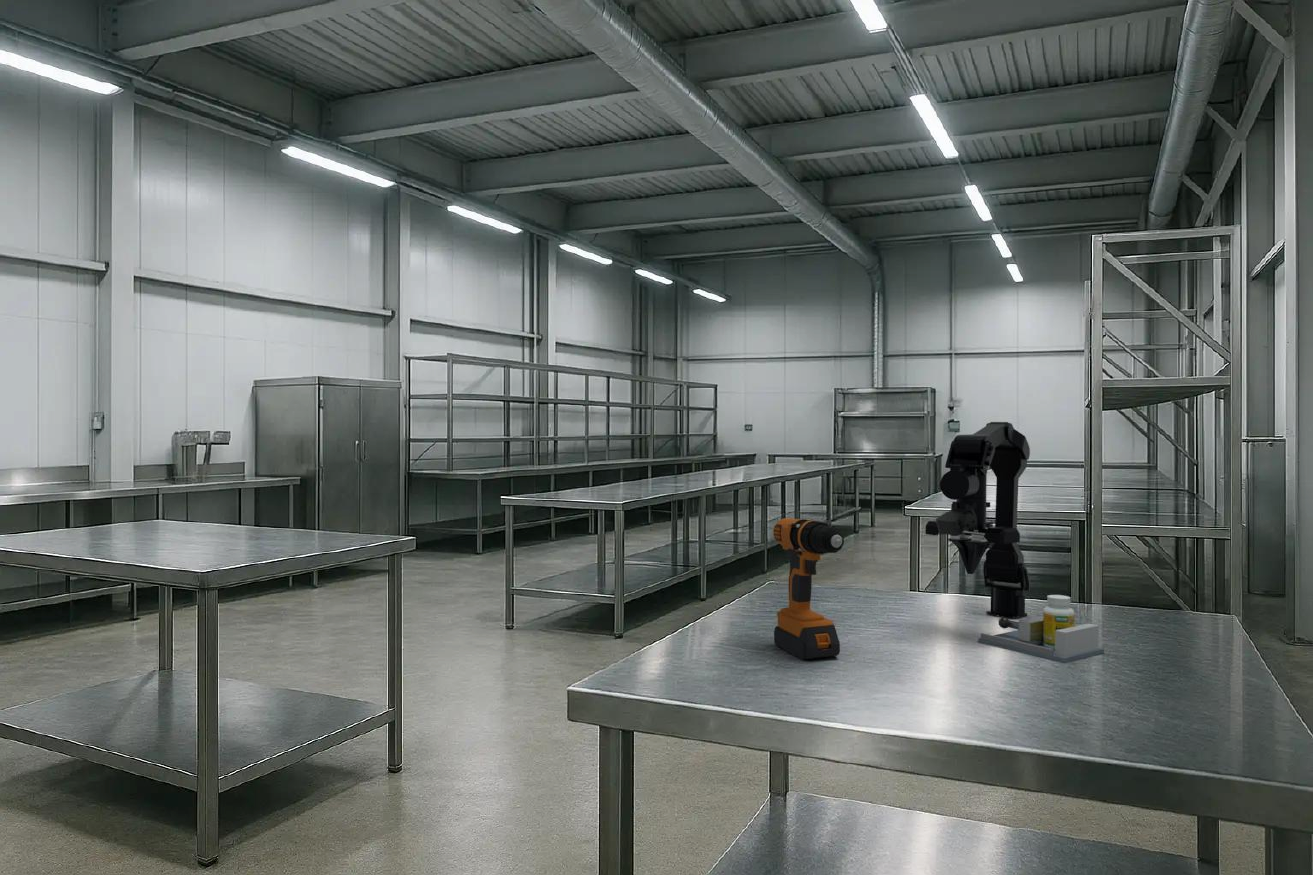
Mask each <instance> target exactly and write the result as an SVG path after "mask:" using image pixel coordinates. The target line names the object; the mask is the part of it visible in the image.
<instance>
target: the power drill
mask: <svg viewBox="0 0 1313 875" xmlns="http://www.w3.org/2000/svg"><path fill="white" fill-rule="evenodd" d="M772 534H773V538H774V540H775V541H776V542H777V543H778V544H779V545H781V546H782V549H783V551H784V552H785V553H787V554H788V556H789V576H788V606H787V607H782V608H780V610H779V611H777V612H776V617H777V621H776V623H777V625H776V626H775V627H774V630H773V642H774V645H776V646H777V647H779V648H781V649H783V650H784V651H786V652H788V653H789V654H791V655H794V656H795V657H797V658H798V659H799V660H803V661H804V660H812V659H813V660H814V659H823V658H830V657H831V658H832V657H837V656H839V655H840V654H841V653H840V652H841V649H840V648H841V647H840V646H841V644H840V639H839V636H838V633H837V630H836V629H837V628H836V626H835V622H834V621H832V620H831V619H828V618H826V617H825V616H824V615H822V614H820V613H817V612H815V611H813V610H811V600H812V599H811V598H812V582H813V581H812V577H813V576H815V575H817V574H818V573H817V566H816V565H817V563H818V561H820V560H821V555H822V554H823V555H824V554H835V553H838V552H840V550H842V548H843V546H844V543H845V536H844V535H843V532H842V531H841V530H839V529H838V528H836V527H833V526H831V525H829V524H828V523H826V522H822V521H819V520H815V519H806V518H798V519H797V518H788V517H785V518H781V519H780V520H779V521H777V523H776V524H775V525H774V526H773V531H772Z"/></svg>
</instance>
